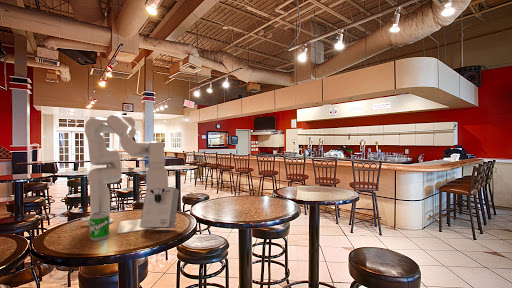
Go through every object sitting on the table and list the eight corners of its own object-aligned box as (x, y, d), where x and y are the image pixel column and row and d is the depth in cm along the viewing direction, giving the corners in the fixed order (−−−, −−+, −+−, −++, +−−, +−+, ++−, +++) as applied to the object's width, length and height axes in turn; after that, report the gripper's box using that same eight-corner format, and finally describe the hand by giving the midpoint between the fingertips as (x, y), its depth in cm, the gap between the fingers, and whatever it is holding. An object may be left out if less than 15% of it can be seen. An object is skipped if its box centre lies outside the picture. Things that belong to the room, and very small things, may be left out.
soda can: (92, 237, 118) (92, 212, 118) (110, 235, 121) (110, 210, 121) (88, 242, 111) (87, 216, 111) (107, 240, 114) (106, 214, 114)
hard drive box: (175, 228, 127) (180, 190, 135) (168, 227, 120) (174, 186, 128) (146, 228, 129) (153, 190, 136) (138, 227, 122) (146, 187, 129)
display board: (117, 234, 122) (117, 233, 122) (120, 222, 142) (120, 221, 142) (176, 225, 134) (176, 224, 134) (171, 215, 154) (171, 214, 154)
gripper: (140, 167, 118) (141, 205, 118) (173, 165, 124) (174, 201, 124) (140, 166, 125) (141, 203, 124) (171, 164, 131) (172, 199, 131)
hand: (158, 202), depth 124 cm, fingers closed
